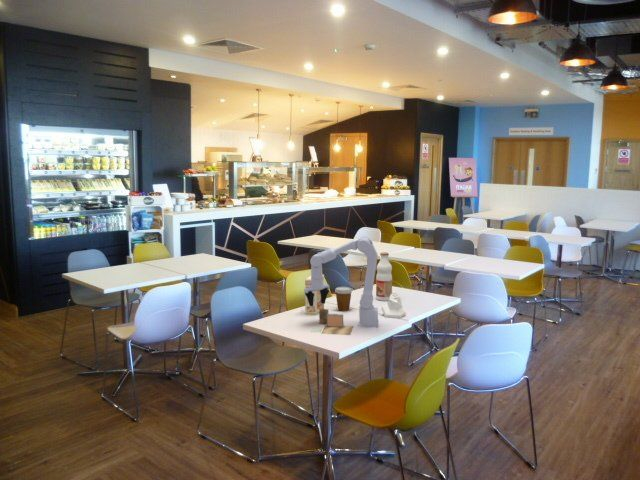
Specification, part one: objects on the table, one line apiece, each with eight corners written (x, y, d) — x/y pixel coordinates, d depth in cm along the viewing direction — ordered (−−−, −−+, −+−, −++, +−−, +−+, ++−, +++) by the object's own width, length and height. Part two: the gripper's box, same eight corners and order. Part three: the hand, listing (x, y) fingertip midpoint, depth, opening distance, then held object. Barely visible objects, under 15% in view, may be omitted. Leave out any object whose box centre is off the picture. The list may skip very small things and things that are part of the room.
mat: (353, 326, 265) (353, 326, 265) (350, 335, 251) (350, 334, 251) (325, 325, 267) (325, 324, 267) (321, 334, 254) (321, 333, 253)
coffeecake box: (317, 315, 285) (317, 279, 282) (304, 314, 287) (304, 279, 284) (324, 308, 299) (324, 274, 296) (312, 307, 301) (312, 273, 298)
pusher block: (328, 322, 272) (328, 309, 271) (327, 325, 268) (327, 311, 267) (320, 322, 273) (320, 309, 272) (319, 324, 269) (319, 311, 268)
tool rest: (322, 329, 260) (322, 328, 260) (320, 332, 256) (320, 332, 255) (312, 329, 261) (312, 328, 261) (310, 332, 256) (310, 331, 256)
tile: (343, 326, 265) (343, 314, 264) (342, 327, 262) (342, 315, 262) (327, 325, 266) (327, 313, 265) (326, 326, 264) (326, 315, 263)
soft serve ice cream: (409, 315, 288) (415, 292, 283) (395, 324, 277) (400, 300, 272) (390, 306, 295) (395, 283, 290) (375, 314, 284) (380, 291, 279)
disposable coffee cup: (354, 310, 293) (354, 289, 292) (339, 312, 290) (339, 291, 288) (347, 306, 302) (347, 285, 300) (332, 308, 299) (332, 287, 297)
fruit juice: (392, 301, 313) (392, 254, 309) (376, 301, 314) (376, 254, 310) (391, 297, 322) (392, 251, 318) (375, 297, 323) (376, 251, 319)
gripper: (323, 275, 276) (323, 300, 278) (300, 279, 267) (301, 305, 269) (331, 277, 271) (332, 303, 272) (309, 281, 262) (309, 308, 264)
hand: (317, 304), depth 270 cm, fingers open, 7 cm apart
